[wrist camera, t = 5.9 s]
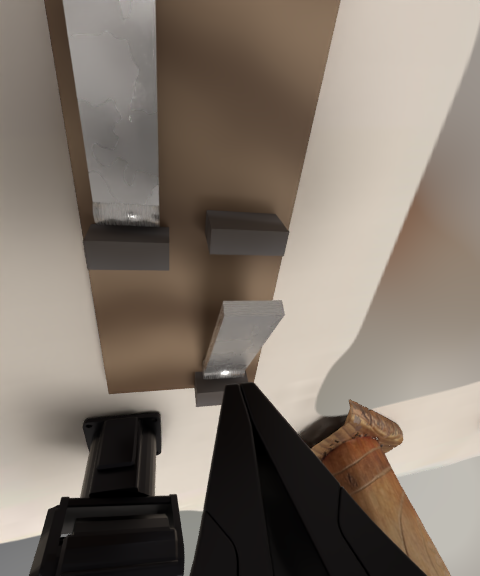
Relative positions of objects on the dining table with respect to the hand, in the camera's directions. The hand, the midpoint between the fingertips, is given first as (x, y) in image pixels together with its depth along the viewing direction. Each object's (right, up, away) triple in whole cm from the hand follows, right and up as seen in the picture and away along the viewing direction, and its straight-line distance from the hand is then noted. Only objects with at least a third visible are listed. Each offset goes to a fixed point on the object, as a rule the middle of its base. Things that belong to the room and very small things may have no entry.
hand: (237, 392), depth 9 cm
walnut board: (-3, +7, +10) cm, 13 cm away
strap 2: (-5, +11, +4) cm, 13 cm away
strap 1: (0, 0, +11) cm, 11 cm away
